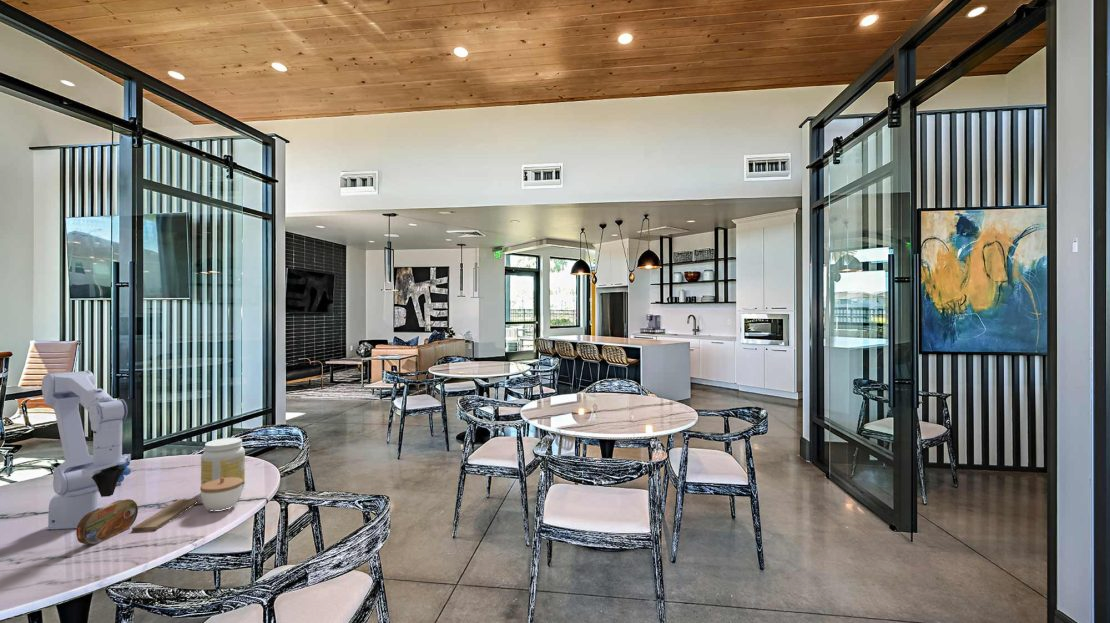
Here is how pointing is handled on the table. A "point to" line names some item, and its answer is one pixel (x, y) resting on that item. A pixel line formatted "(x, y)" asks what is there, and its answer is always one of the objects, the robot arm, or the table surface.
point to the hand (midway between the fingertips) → (107, 495)
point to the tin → (106, 521)
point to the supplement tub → (223, 460)
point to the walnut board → (164, 515)
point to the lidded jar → (221, 493)
